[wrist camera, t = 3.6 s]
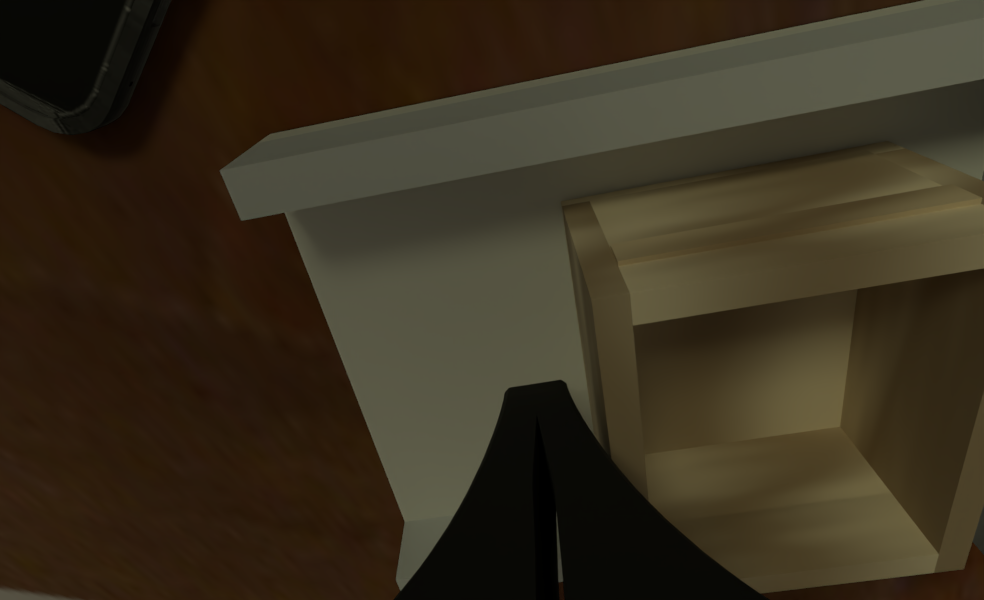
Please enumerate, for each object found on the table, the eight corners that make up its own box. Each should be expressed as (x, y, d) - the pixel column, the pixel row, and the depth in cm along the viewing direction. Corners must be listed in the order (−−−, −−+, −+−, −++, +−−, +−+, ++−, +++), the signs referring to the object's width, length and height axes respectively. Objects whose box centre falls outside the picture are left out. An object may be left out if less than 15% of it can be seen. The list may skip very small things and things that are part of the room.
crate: (888, 136, 12) (1074, 211, 8) (848, 427, 16) (962, 572, 12) (559, 197, 13) (590, 294, 9) (598, 463, 17) (631, 611, 13)
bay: (1094, -35, 12) (1767, -45, 5) (963, 451, 18) (1208, 698, 12) (269, 134, 13) (78, 273, 7) (417, 526, 19) (384, 778, 13)
